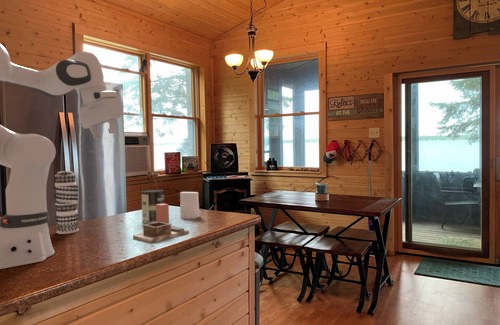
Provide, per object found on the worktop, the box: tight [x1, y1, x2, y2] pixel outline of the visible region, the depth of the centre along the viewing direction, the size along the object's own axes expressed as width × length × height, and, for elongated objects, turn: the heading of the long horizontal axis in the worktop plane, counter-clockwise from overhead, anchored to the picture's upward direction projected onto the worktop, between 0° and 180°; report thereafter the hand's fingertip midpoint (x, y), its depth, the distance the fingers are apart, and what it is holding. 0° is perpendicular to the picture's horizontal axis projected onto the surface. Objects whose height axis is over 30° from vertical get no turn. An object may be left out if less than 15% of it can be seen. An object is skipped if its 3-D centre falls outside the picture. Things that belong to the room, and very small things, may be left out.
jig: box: [132, 222, 190, 244], centre depth 143 cm, size 18×11×5 cm, turn 141°
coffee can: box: [140, 189, 165, 224], centre depth 173 cm, size 10×10×14 cm
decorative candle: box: [52, 170, 80, 235], centre depth 154 cm, size 9×9×25 cm
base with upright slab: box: [179, 191, 200, 220], centre depth 181 cm, size 9×9×12 cm
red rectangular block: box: [156, 203, 170, 224], centre depth 157 cm, size 4×4×10 cm
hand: (104, 135), depth 135 cm, fingers open, 8 cm apart
